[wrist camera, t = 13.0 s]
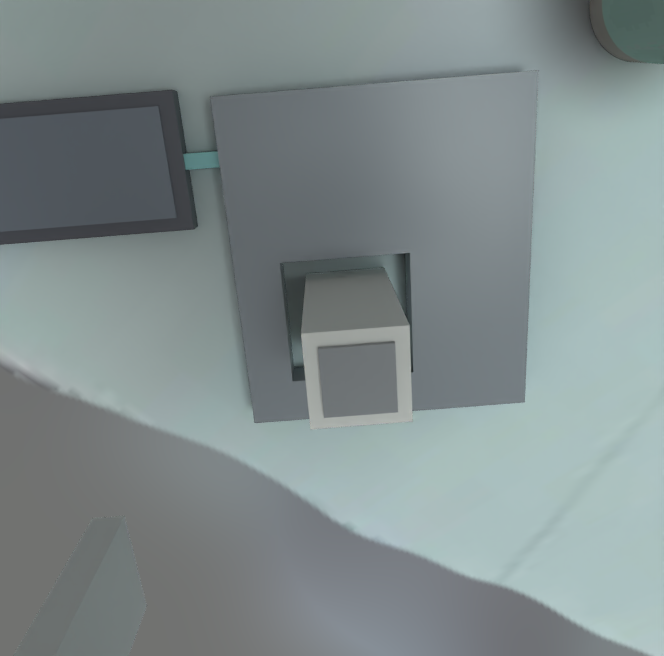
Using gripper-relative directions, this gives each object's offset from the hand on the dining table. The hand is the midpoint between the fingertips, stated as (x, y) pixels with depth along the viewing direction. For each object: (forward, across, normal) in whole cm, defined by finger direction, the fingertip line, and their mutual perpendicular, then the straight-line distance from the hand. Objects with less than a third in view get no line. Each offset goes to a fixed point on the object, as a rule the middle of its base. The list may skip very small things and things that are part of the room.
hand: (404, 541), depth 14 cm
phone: (+21, -11, +8) cm, 25 cm away
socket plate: (+21, +1, +2) cm, 21 cm away
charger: (+21, -1, -1) cm, 21 cm away
